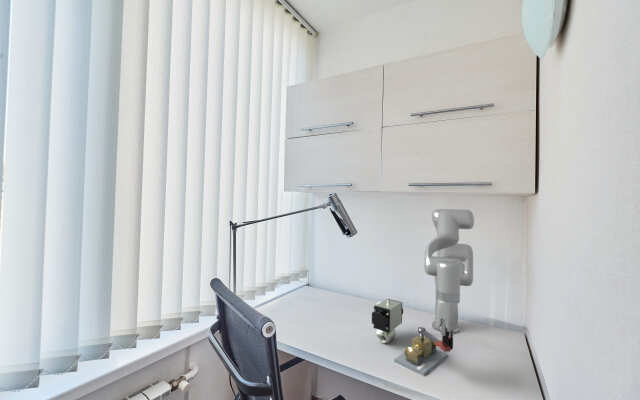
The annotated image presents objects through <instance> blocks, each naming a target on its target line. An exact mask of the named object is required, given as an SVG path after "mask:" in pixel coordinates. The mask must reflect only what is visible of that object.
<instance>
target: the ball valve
mask: <svg viewBox="0 0 640 400" xmlns="http://www.w3.org/2000/svg"><path fill="white" fill-rule="evenodd" d="M403 314H404V308H403V302H402V301H399V300H393V299H390V298H386V299H385V300H383V301H378V302H376V305H374V306H373V311H372V312H371V325H373V329H375V330H376V337H377V338H379V341H380V342H381V343H383V344H388V343H389V342H391V341H392V340H394V338H395V337H396V336H397V332H396V328H397V327H398V326H400V325H402V323H403Z"/></svg>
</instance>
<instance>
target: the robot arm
mask: <svg viewBox="0 0 640 400" xmlns="http://www.w3.org/2000/svg"><path fill="white" fill-rule="evenodd" d="M431 220H432V223H433V225H434V228H435V230H436V236H435V237H434V238H433V239H432V240H430V242H429V243H428V244H427V246H426V247H425V249H424V250H425V251H424V260H423V269H424V271H425V273H426V274H427V275H428V276H432V277H434V284H435V306H434V307H435V308H434V310H435V317H434V319H435V320H434V321H432V323H431V327H432V328H433V329H435V330H436V331H438V332H440V335H441V337H442V339H441V341H442V342H444V343H445V344H446V345H448V346H449V347H450V351H452V350H453V348H454V334H458V333H459V332H460V326H458V324H459V305H458V304H460V302H461V287H463V286H464V287H470V286H472V285H473V281H474V251H473V248H472V247H471V245H469V244H467V243H458V242H459V241H460V231H459V230H472V229H473V227H474V226H475V225H474V224H475V216H474V214H473V212H472V211H471V210H469V209H462V208H461V209H453V208H451V209H450V208H439V209H434V210H433V211H432V213H431ZM434 253H437V255H436V256H433V254H434Z"/></svg>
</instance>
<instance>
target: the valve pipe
mask: <svg viewBox="0 0 640 400" xmlns="http://www.w3.org/2000/svg"><path fill="white" fill-rule="evenodd" d="M418 334H419V335H417V336H415V337H413V338H412V339H411V346H408V347H406V348H405V349H404V352H403V353H405V357H406V361H408V362H410V363H412V364H415V365H417V366H419V365H420V364H422V357H424V358H425V357H426V356H427V355H429V354H432V355H434V354H435V353H436V350H437V347H438V346H436V345H435V343H434V342H432V341H431V340H430V339H428V338H427V337H426V336H424V335H423V334H421V333H419V332H418Z"/></svg>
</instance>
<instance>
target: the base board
mask: <svg viewBox="0 0 640 400" xmlns="http://www.w3.org/2000/svg"><path fill="white" fill-rule="evenodd" d="M447 358H448V353H446V352H444V351H443V350H442V351H441V350H438V349H436V353H435V354H434V355H432V354H429V355H427V356H426V357H425V358H424V357H422V364H420V365H419V366H417V365H415V364H412V363H410V362H408V361H406V357H405V353H404V352H402V353H401V354H399V355H398V356H396V357H395V358H393V362H394V363H396V364H398V365H401V366H402V367H405V368H407V369H409V370H411V371H413V372H415V373H417V374H419V375H422V376H423V377H424V376H426V375H427V374H428V373H430V372H431V371H432V370H433V369H434V368H436V367H437V366H438V365H439V364H440V363H442V362H443V361H444V360H445V359H447Z"/></svg>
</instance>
